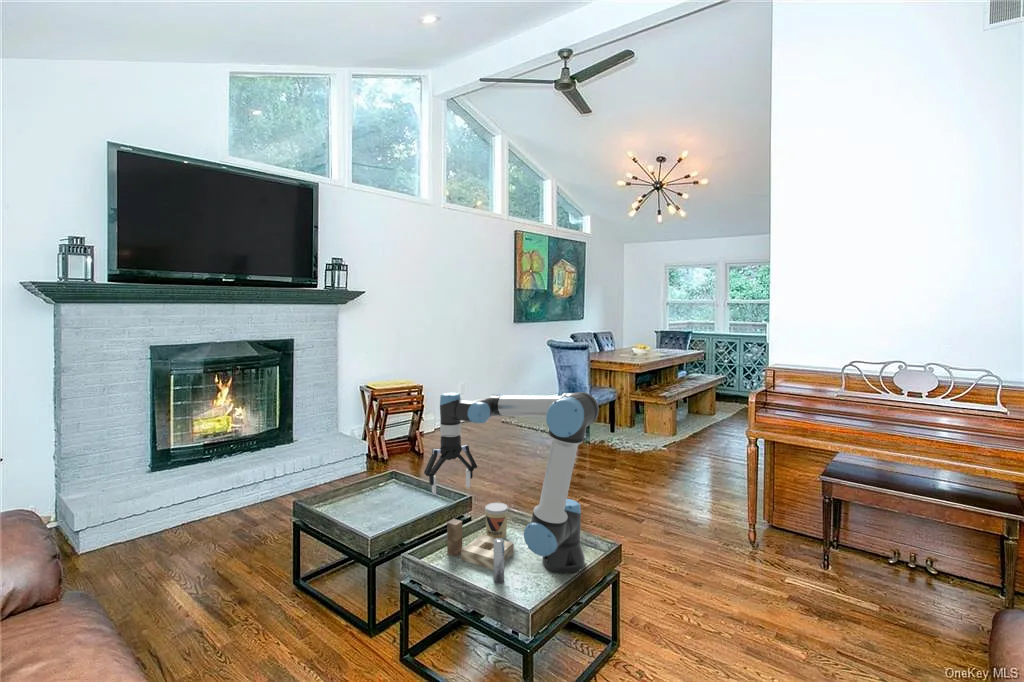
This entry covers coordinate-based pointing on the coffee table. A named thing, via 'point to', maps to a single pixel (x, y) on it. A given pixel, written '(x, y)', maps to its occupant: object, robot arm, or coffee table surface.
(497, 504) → the coffee cup
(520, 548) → the coffee table surface
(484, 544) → the bore block
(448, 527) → the square peg
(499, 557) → the round peg
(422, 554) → the coffee table surface
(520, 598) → the coffee table surface
